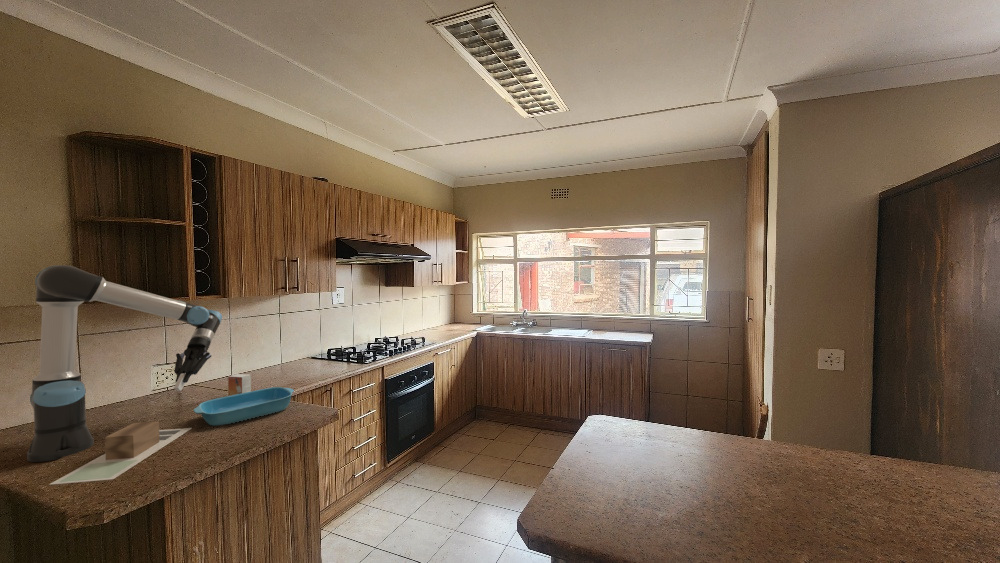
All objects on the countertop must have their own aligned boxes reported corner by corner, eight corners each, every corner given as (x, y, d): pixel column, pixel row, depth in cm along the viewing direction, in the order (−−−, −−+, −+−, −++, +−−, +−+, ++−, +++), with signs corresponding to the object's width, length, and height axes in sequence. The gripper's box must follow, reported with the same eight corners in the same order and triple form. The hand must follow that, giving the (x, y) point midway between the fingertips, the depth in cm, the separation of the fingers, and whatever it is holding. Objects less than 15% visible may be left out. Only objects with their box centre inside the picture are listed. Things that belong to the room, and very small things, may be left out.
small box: (228, 397, 189) (227, 376, 189) (237, 393, 195) (237, 373, 195) (242, 398, 188) (241, 377, 188) (251, 394, 194) (250, 374, 193)
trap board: (48, 486, 110) (48, 484, 110) (146, 432, 148) (146, 430, 148) (113, 481, 113) (112, 479, 113) (192, 429, 151) (192, 427, 150)
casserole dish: (199, 434, 146) (199, 416, 146) (189, 419, 161) (189, 402, 161) (301, 409, 173) (301, 393, 173) (284, 398, 188) (284, 383, 188)
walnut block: (105, 460, 125) (105, 437, 125) (133, 443, 137) (133, 423, 136) (133, 457, 126) (133, 435, 126) (159, 442, 138) (158, 421, 138)
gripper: (220, 345, 174) (199, 392, 158) (188, 346, 171) (163, 395, 155) (213, 335, 168) (191, 383, 152) (180, 336, 166) (154, 385, 150)
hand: (177, 389), depth 154 cm, fingers closed
